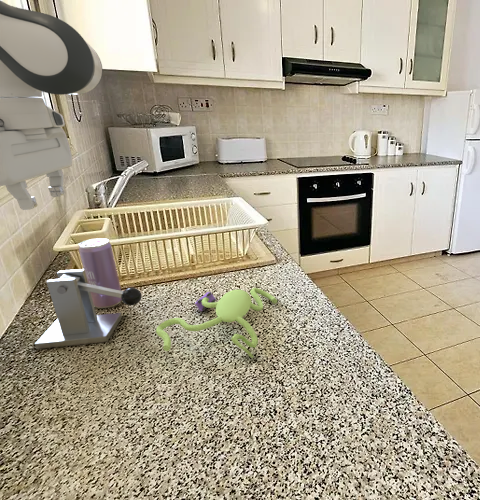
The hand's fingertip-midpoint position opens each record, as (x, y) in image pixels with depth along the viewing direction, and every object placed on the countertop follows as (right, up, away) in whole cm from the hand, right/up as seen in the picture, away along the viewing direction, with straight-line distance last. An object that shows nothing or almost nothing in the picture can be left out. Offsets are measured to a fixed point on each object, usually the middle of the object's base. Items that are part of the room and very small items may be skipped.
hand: (45, 201), depth 65 cm
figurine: (+27, -25, +13) cm, 39 cm away
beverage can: (-3, -21, +22) cm, 30 cm away
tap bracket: (-1, -25, +10) cm, 27 cm away
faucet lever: (+4, -18, +9) cm, 20 cm away
